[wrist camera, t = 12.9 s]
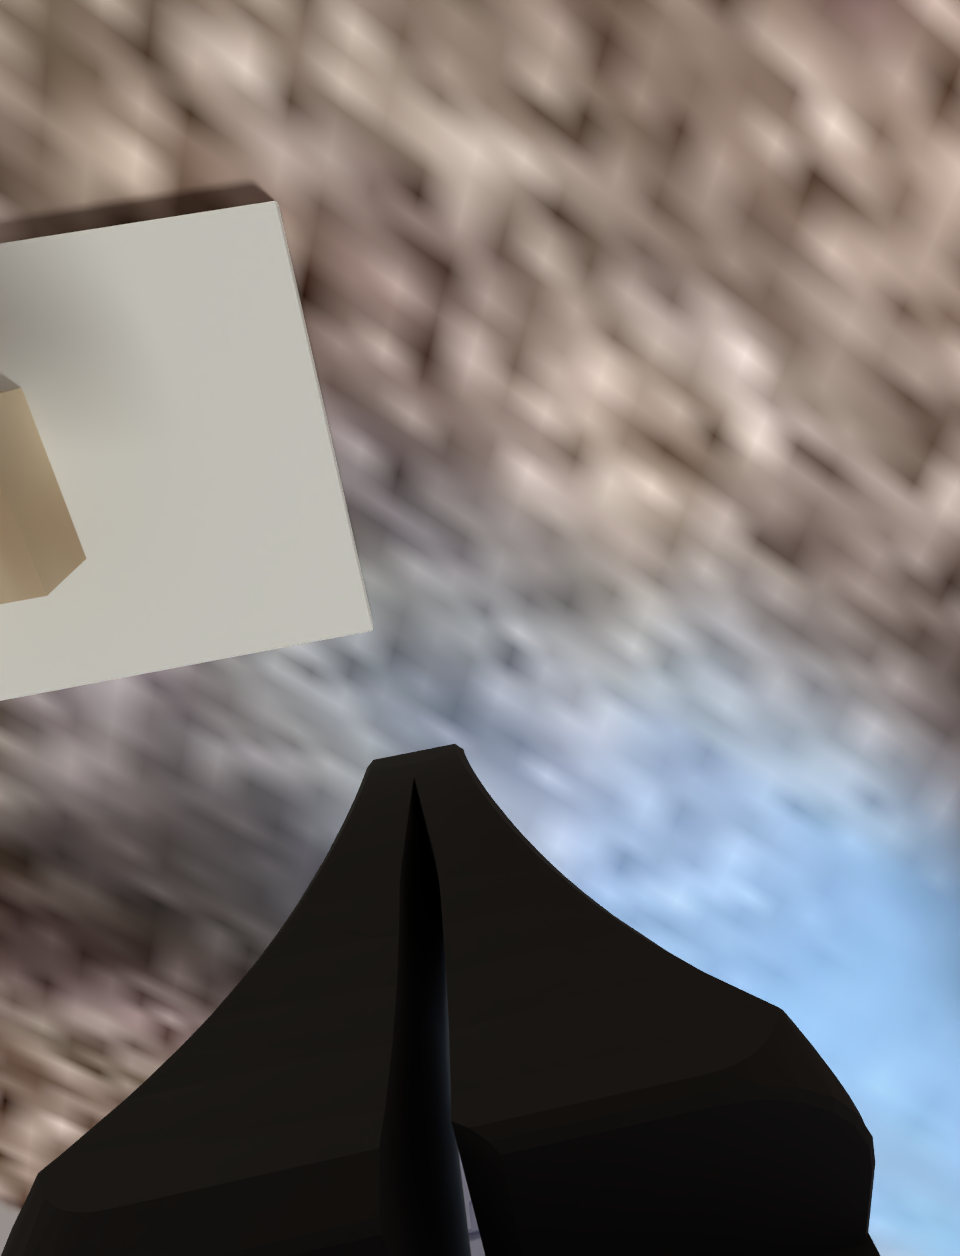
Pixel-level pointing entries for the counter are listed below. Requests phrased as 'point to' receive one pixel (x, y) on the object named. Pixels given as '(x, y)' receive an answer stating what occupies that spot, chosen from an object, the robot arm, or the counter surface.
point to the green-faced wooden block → (30, 510)
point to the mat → (175, 450)
